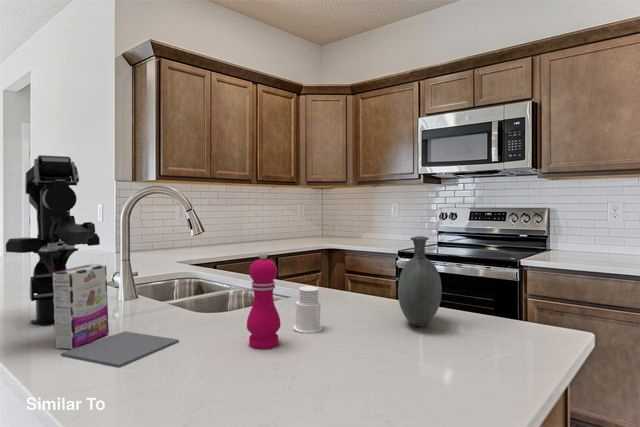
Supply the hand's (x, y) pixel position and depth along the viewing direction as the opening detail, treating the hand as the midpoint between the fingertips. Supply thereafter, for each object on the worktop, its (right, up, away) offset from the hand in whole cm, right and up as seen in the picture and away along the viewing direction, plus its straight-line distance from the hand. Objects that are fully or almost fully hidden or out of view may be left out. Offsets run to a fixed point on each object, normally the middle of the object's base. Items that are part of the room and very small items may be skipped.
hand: (57, 280), depth 100 cm
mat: (+18, -13, -7) cm, 24 cm away
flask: (+84, -13, +9) cm, 86 cm away
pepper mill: (+48, -13, -5) cm, 50 cm away
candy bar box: (+7, -13, -3) cm, 15 cm away
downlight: (+57, -13, +6) cm, 59 cm away
